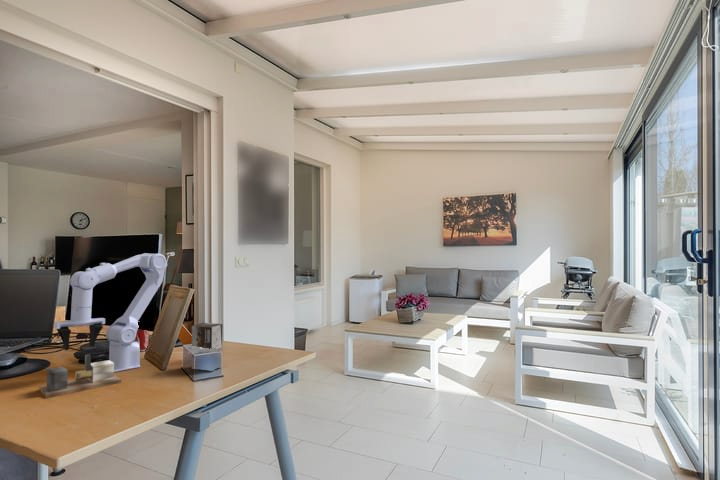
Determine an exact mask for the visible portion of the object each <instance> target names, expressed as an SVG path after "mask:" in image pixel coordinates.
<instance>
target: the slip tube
mask: <svg viewBox="0 0 720 480" xmlns="http://www.w3.org/2000/svg"><path fill="white" fill-rule="evenodd" d="M91 355H92V354H90V353H89V354H85V355H84V369H83V370H77V371H75V372H74V378H75V379H74V380H76V381H77V380H82V379H87V378H92V377H93V368H92V369H91V363H92V362H91V361H92V356H91Z"/></svg>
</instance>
